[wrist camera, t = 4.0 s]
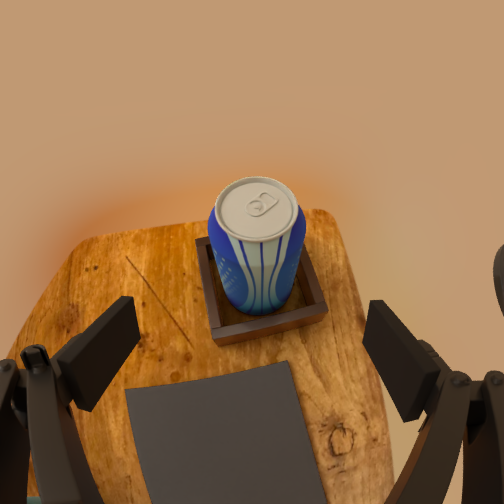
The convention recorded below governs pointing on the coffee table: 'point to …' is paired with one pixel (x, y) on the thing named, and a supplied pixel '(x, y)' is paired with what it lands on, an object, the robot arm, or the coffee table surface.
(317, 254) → the coffee table surface
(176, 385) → the rubber mat
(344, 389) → the coffee table surface
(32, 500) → the flower pot
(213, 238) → the beer can
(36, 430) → the robot arm
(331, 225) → the coffee table surface
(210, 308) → the can holder
